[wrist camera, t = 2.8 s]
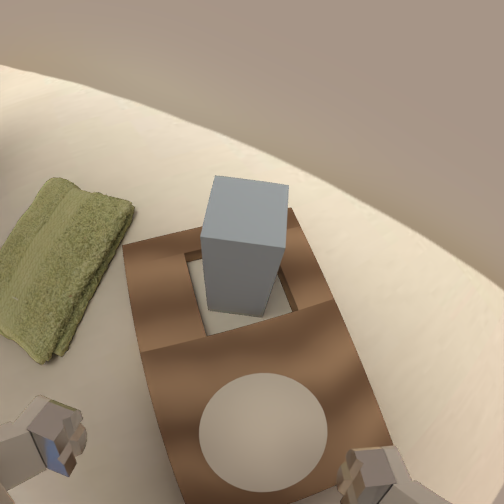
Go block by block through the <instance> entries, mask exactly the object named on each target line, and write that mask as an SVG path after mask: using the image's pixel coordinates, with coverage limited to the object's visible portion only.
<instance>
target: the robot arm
mask: <svg viewBox="0 0 504 504" xmlns="http://www.w3.org/2000/svg"><path fill="white" fill-rule="evenodd" d="M82 419H83V417H82V414H81V411H79V410H77V409H75V408H72V407H69V406H67V405H64V404H62V403H59V402H57V401H54V400H52V399H49V398H47V397H44V396H42V395H38V396H36V397H35V398H34V399H33V400H32V402H31V403H30V404H29V405H28V406H27V407H26V409H25V410H24V411H23V412H22V413H21V415H20V416H19V417H18V418H17V419H16V420H15V422H14V423H12V422H7V423H4V424H1V425H0V504H15V502H14V500H13V499H12V498H11V496H10V495H9V494H8V492H7V491H8V490H10V489H12V488H14V487H15V486H17V485H19V484H21V483H23V482H25V481H27V480H28V479H30V478H32V477H34V476H36V475H38V474H39V473H41V472H43V471H45V470H46V468H48V469H50V470H52V471H55V472H57V473H60V474H62V475H65V476H67V477H69V476H70V474H71V473H72V471H73V469H74V467H75V465H76V464H77V463H76V459H75V457H76V456H78V455H80V454H82V452H83V451H84V449H85V446H86V442H87V432H86V428H85V427H84V426H83V425H82V424H81V421H82ZM345 458H346V462H344V463H343V464H341V465H340V467H339V469H338V472H337V478H336V483H337V489H338V491H339V492H340V493H341V494H342V495H343V498H342V499H341V501H340V503H341V504H452V503H450V502H448V501H447V500H445V499H444V498H442V497H441V496H439V495H437V494H436V493H434V492H433V491H431V490H430V489H428V488H427V487H425V486H424V485H422V484H421V483H419V482H418V481H412V479H411V477H410V474H409V472H408V470H407V468H406V465H405V463H404V461H403V459H402V456H401V454H400V452H399V450H398V448H397V447H396V446H395V445H394V446H383V447H369V448H354V449H350V450H349V451H348V452H347V454H346V456H345Z"/></svg>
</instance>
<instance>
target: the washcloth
mask: <svg viewBox="0 0 504 504" xmlns="http://www.w3.org/2000/svg"><path fill="white" fill-rule="evenodd" d="M134 208H135V207H134V206H133V205H132V202H129V201H127V200H123V199H119V198H115V197H111V196H109V197H108V196H107V195H103V194H102V193H99V192H94V193H90V192H87V191H83V190H81V189H80V188H78V186H76V185H74V183H72V182H70V181H68V180H66V179H62V178H51V179H49V180H48V181H46V183H45V184H44V185H43V187H42V188H41V190H40V191H39V192H38V194H37V196H36V197H35V200H34V201H33V203H32V204H31V206H30V207H29V208H28V210H27V211H26V212H25V213H24V214H23V215H22V216H21V218H20V219H19V220H18V222H17V224H16V226H15V227H14V229H13V230H12V232H11V233H10V235H9V237H8V238H7V240H6V242H5V243H4V245H3V246H2V248H1V250H0V334H2V335H3V336H4V337H6V338H8V339H11V340H14V341H15V342H16V343H17V344H18V345H20V346H21V347H22V348H23V349H24V350H25V351H26V352H27V353H28V354H29V356H30V357H31V358H32V359H33V360H35V361H36V362H37V363H39V364H41V365H43V364H44V363H45V362H46V360H47V361H48V362H49V360H50V359H51V357H52V353H55V354H57V355H59V356H61V357H62V356H63V355H64V353H65V351H68V347H69V343H70V341H71V340H72V337H73V335H74V334H75V330H76V327H77V324H78V323H79V322H80V320H81V319H82V316H83V314H84V311H85V309H86V306H87V305H88V301H89V300H91V298H92V296H93V293H94V292H95V290H96V287H97V286H98V284H99V283H100V280H101V278H102V275H103V274H104V271H105V270H106V269H107V267H108V263H110V261H111V260H112V258H113V256H114V254H115V249H117V247H118V246H119V243H120V241H121V240H122V239H123V237H124V235H125V232H126V230H127V228H128V227H129V226H130V224H131V221H132V216H133V213H134Z"/></svg>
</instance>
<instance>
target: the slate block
mask: <svg viewBox="0 0 504 504" xmlns="http://www.w3.org/2000/svg"><path fill="white" fill-rule="evenodd" d="M288 190H289V185H284V184H277V183H270V182H263V181H255V180H248V179H240V178H232V177H224V176H215V178H214V181H213V185H212V189H211V193H210V198H209V202H208V206H207V210H206V214H205V218H204V222H203V227H202V231H201V235H200V240H201V250H202V260H203V270H204V279H205V288H206V297H207V306H208V310H210V311H217V312H224V313H231V314H239V315H246V316H254V317H262V316H263V313H264V310H265V308H266V305H267V302H268V299H269V296H270V293H271V290H272V287H273V284H274V281H275V278H276V275H277V272H278V269H279V266H280V263H281V260H282V257H283V254H284V251H285V247H286V230H287V211H288Z"/></svg>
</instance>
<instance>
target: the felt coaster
mask: <svg viewBox="0 0 504 504" xmlns="http://www.w3.org/2000/svg"><path fill="white" fill-rule="evenodd" d="M199 440H200V446H201V450H202V453H203V455H204V457H205V459H206V461H207V463H208V464H209V466H210V467H211V468H212V470H213V471H214V472H215V473H216V474H217V475H218V476H219V477H220V478H222V479H223V480H224V481H226V482H227V483H229V484H231V485H233V486H235V487H238V488H240V489H243V490H247V491H253V492H272V491H278V490H281V489H285V488H287V487H290V486H292V485H294V484H296V483H298V482H299V481H301V480H302V479H303V478H305V477H306V476H307V475H308V474H309V473H310V472H311V471H312V470H313V469H314V468H315V466H316V465H317V464H318V462H319V461H320V459H321V457H322V455H323V452H324V450H325V446H326V442H327V422H326V417H325V414H324V411H323V409H322V407H321V405H320V403H319V402H318V400H317V398H316V397H315V396H314V395H313V394H312V393H311V392H310V391H309V390H308V389H307V388H306V387H305V386H303V385H302V384H300V383H299V382H297V381H295V380H293V379H291V378H288V377H286V376H282V375H278V374H272V373H256V374H250V375H246V376H242V377H240V378H237V379H235V380H233V381H231V382H229V383H228V384H226V385H225V386H223V387H222V388H221V389H220V390H218V391H217V392H216V393H215V394H214V396H213V397H212V398H211V399H210V401H209V402H208V404H207V405H206V407H205V409H204V411H203V414H202V417H201V420H200V426H199Z"/></svg>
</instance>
